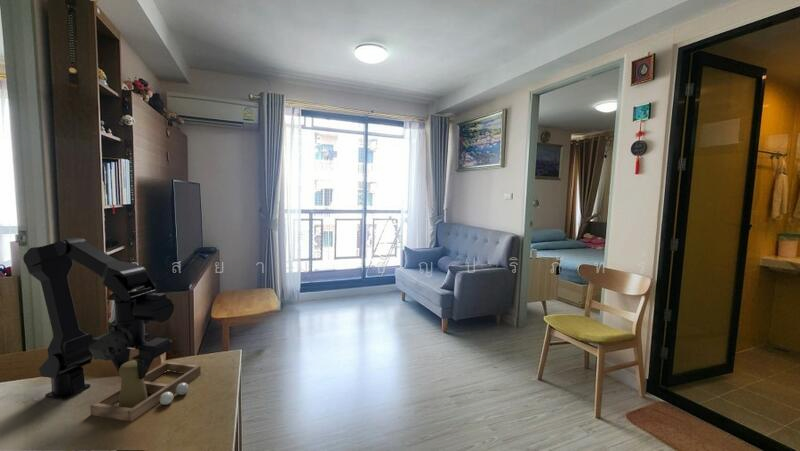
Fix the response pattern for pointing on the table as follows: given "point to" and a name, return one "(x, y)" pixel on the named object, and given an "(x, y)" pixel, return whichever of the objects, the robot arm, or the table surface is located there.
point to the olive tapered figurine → (131, 385)
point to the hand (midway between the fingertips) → (132, 377)
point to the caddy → (157, 389)
